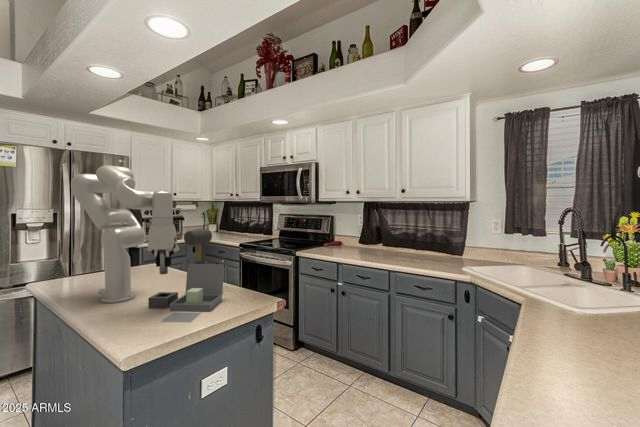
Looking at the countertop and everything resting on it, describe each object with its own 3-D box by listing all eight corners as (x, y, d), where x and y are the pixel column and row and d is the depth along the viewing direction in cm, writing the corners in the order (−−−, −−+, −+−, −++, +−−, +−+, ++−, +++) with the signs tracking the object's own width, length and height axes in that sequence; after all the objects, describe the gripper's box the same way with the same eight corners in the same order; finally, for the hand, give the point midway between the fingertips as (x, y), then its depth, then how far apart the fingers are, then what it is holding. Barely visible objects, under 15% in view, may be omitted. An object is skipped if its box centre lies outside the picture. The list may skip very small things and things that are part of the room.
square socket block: (148, 309, 123) (148, 297, 123) (159, 302, 131) (159, 292, 131) (168, 309, 122) (167, 298, 122) (178, 302, 130) (178, 292, 130)
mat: (160, 323, 109) (160, 321, 109) (173, 313, 118) (173, 312, 118) (190, 323, 108) (190, 322, 108) (201, 314, 117) (201, 313, 117)
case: (169, 311, 120) (169, 304, 120) (185, 301, 133) (185, 294, 133) (209, 312, 119) (209, 305, 119) (221, 301, 132) (221, 294, 132)
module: (186, 309, 122) (186, 291, 121) (192, 304, 127) (192, 288, 126) (197, 309, 121) (197, 291, 121) (202, 305, 126) (202, 288, 126)
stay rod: (158, 274, 125) (157, 249, 124) (162, 272, 127) (161, 248, 127) (165, 274, 124) (164, 249, 124) (169, 272, 127) (168, 248, 127)
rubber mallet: (195, 295, 141) (194, 230, 140) (182, 293, 144) (182, 229, 143) (213, 288, 153) (213, 228, 152) (201, 286, 155) (201, 227, 154)
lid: (187, 263, 134) (188, 263, 135) (185, 294, 133) (186, 294, 133) (223, 264, 134) (224, 264, 135) (221, 294, 132) (222, 294, 133)
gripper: (137, 222, 122) (138, 268, 122) (177, 222, 121) (178, 268, 122) (148, 221, 129) (149, 264, 130) (186, 221, 129) (187, 264, 129)
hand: (163, 265), depth 126 cm, fingers closed on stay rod, 3 cm apart
